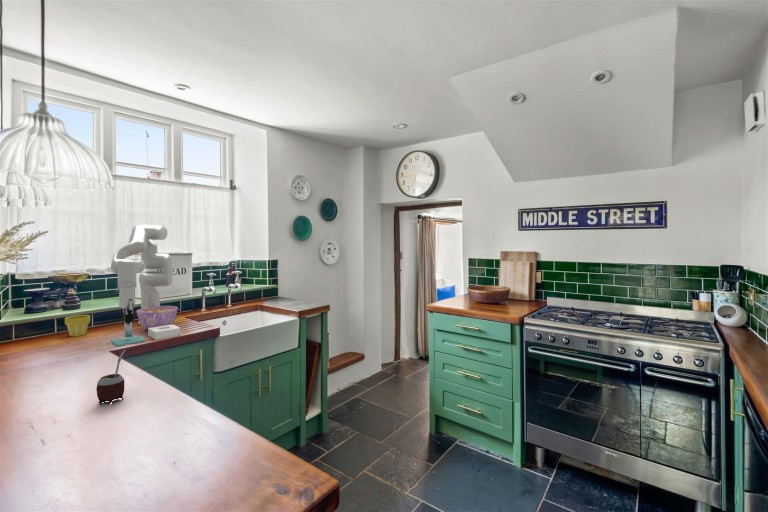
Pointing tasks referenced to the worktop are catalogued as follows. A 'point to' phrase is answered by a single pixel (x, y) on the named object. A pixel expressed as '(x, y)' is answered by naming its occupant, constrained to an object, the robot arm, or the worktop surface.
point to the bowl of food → (157, 316)
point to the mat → (128, 340)
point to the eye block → (164, 331)
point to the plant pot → (77, 324)
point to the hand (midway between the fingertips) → (128, 321)
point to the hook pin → (127, 327)
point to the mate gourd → (111, 386)
